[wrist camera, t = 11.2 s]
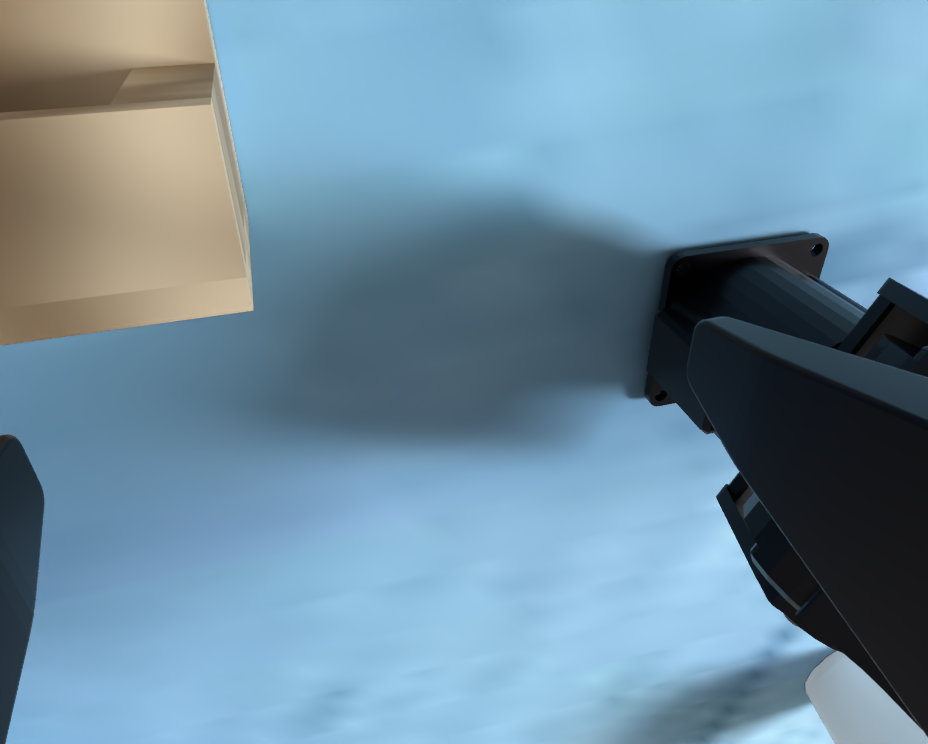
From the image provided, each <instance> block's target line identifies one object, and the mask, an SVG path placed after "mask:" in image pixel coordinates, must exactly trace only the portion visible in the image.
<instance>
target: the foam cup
mask: <svg viewBox="0 0 928 744" xmlns="http://www.w3.org/2000/svg"><path fill="white" fill-rule="evenodd" d="M805 688H806V693H807V695H808V696H809V698H810V699H811V703H812V705H813V706H814V708H815V710H816V712H817V713H818V715H819V717H820V719H821V720H822V722H823V724H824V726H825V727H826V729H827V731H828V733H829V734H830V736H831V738H832V740H833V741H834V743H835V744H928V737H927V736H926V734H925V733H924V732H923V730H922V729H921V728H920V727H919V726H918V725H917V724H916V723H915V722H914V721H913V720H912V719H911V718H910V717H909V716H908V715H907V714H906V713H905V712H904V711H903V710H902V709H901V708H900V707H899V706H898V705H897V704H896V703H895V702H894V701H893V700H892V699H891V697H890V696H889V695H888V694H887V693H886V692H885V691H884V690H883V689H882V688H881V687H880V686H879V685H878V684H877V683H876V682H875V681H874V680H873V679H871V678H870V677H869V676H868V675H867V674H866V673H865V672H864V671H863V670H862V669H861V668H860V667H859V666H857V665H856V664H855V663H854V662H853V661H852V660H850V659H849V658H848V657H847V656H846V655H845V654H843V653H841V652H839V651H836V652H834V653H832V654H831V655H829V656H827V657H826V658H825V659H824V660H823V661H822V662H821V663H820V664H819V665H818V666H817V667H816V668H815V669H813V671H812V672H811V674H810V676H809V677H808V679H807V681H806V682H805Z"/></svg>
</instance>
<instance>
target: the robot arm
mask: <svg viewBox="0 0 928 744" xmlns="http://www.w3.org/2000/svg"><path fill="white" fill-rule="evenodd" d="M814 246H815V247H814ZM813 247H814V249H812V248H813ZM828 247H829V243H828V240H827V239H826V238H824V237H823V236H821V235H819V234H816V233H811V234H804V235H797V236H790V237H782V238H775V239H768V240H761V241H753V242H746V243H739V244H732V245H725V246H717V247H710V248H703V249H696V250H688V251H681V252H678V253H675V254H673V255H672V256H671V257H670V258H669V259H668V261H667V263H666V266H665V271H664V277H663V283H662V289H661V296H660V302H659V308H658V312H657V314H656V316H655V320H654V326H653V333H652V339H651V345H650V351H649V357H648V364H647V371H648V376H647V382H646V388H645V397H646V398H647V400H648V401H649V402H650V403H651V404H652V405H654V406H662V405H667V404H672V403H677V404H678V405H679V407H680V408H681V409H682V410H683V411H684V412H685V413H686V414H687V415H688V416H689V418H690V419H691V420H692V421H693V422H694V423H695V424H696V425H697V426H698V427H699V429H700V430H702V431H703V432H704V433H706V434H710V433H715V434H716V436H717V437H718V438H719V439H720V440H721V442H722V444H723V445H724V447H725V449H726V451H727V453H728V454H729V456H730V458H731V459H732V461H733V463H734V464H735V466H736V467H737V469H738V470H739V473H738V474H737V475H736V476H735V478H734V479H733V480H732V482H731V483H730V484H729V485H728V484H726V485H725V486H724V487H723V488H722V490H721V491H720V492H719V493H718V495H717V496H716V498H717V500H718V502H719V504H720V506H721V508H722V510H723V512H724V514H725V516H726V518H727V520H728V522H729V524H730V527H731V529H732V531H733V533H734V535H735V537H736V539H737V541H738V543H739V545H740V547H741V549H742V551H743V553H744V555H745V557H746V559H747V561H748V563H749V565H750V567H751V569H752V571H753V573H754V575H755V577H756V579H757V580H758V582H759V584H760V586H761V588H762V590H763V592H764V594H765V595H766V597H767V599H768V601H769V602H770V603H771V604H772V605H773V606H774V607H776V608H777V609H778V610H780V611H781V612H783V613H784V615H785V617H786V618H787V619H788V620H789V621H790V622H791V623H792V624H794V625H795V626H798V627H800V628H801V629H803V630H804V631H805V632H807V633H808V634H809V635H811V636H812V637H813V638H815V639H817V640H818V641H820V642H822V643H823V644H825V645H827V646H828V647H830V648H832V649H835V650H837V651H839V652H841V653H843V654H845V655H846V656H847V657H848V658H849V659H850V660H852V661H853V662H854V663H855V664H856V665H857V666H859V667H860V668H861V669H862V670H863V671H864V672H865V673H866V674H867V675H868V676H869V677H870V678H871V679H873V680H874V681H875V682H876V683H877V684H878V685H879V686H880V687H881V688H882V689H883V690H884V691H885V692H886V693H887V694H888V695H889V696H890V697H891V699H892V700H893V701H894V702H895V703H896V704H897V705H898V706H899V707H900V708H901V709H902V710H903V711H904V712H905V713H906V714H907V715H908V716H909V717H910V718H911V719H912V720H913V721H914V722H915V723H916V724H917V725H918V726H919V727H920V728H921V729H922V730H923V732H924V733H925V734H926V736H927V737H928V298H926V297H924V296H923V295H921V294H919V293H917V292H915V291H913V290H911V289H910V288H908V287H906V286H904V285H902V284H900V283H898V282H897V281H895V280H893V279H891V278H888V280H887V281H886V282H885V283H884V285H883V286H882V287H881V288H880V290H879V291H878V292H877V293H878V294H880V295H879V296H878V297H877V299H876V300H875V301H874V303H873V304H872V305H871V306H870V308H869V309H868V310H867V309H866V308H864V307H863V306H861V305H859V304H858V303H856V302H855V301H853V300H851V299H850V298H848V297H847V296H845V295H843V294H842V293H840V292H839V291H837V290H836V289H834V288H832V287H831V286H829V285H828V284H826V283H824V282H823V281H821V280H820V279H819V278H820V274H821V271H822V268H823V264H824V261H825V258H826V254H827V251H828ZM683 263H684V266H683V268H682V269H681V270H679V271H677V269H678V267H679V266H680V265H681V264H683ZM660 391H661V392H660ZM658 392H660V393H659V394H658V395H656V394H657V393H658ZM43 514H44V494H43V490H42V486H41V484H40V482H39V480H38V478H37V475H36V473H35V471H34V469H33V467H32V465H31V463H30V461H29V459H28V457H27V455H26V453H25V450H24V448H23V446H22V444H21V443H20V441H19V440H18V439H17V438H16V437H14V436H12V435H1V436H0V744H5V743H6V738H7V734H8V730H9V725H10V721H11V716H12V712H13V708H14V703H15V699H16V694H17V690H18V685H19V681H20V677H21V672H22V668H23V663H24V659H25V655H26V650H27V646H28V641H29V637H30V632H31V627H32V622H33V617H34V609H35V601H36V591H37V580H38V569H39V558H40V547H41V536H42V525H43Z"/></svg>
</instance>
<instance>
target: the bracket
mask: <svg viewBox="0 0 928 744" xmlns="http://www.w3.org/2000/svg"><path fill="white" fill-rule="evenodd" d="M246 311H253V293H252V275H251V258H250V241H249V224H248V213H247V208H246V203H245V197H244V192H243V187H242V182H241V177H240V172H239V167H238V162H237V157H236V152H235V146H234V141H233V136H232V131H231V126H230V121H229V116H228V111H227V106H226V101H225V95H224V90H223V85H222V80H221V75H220V70H219V65H218V60H217V55H216V50H215V44H214V39H213V34H212V29H211V24H210V19H209V14H208V9H207V4H206V0H0V345H8V344H15V343H22V342H29V341H36V340H44V339H51V338H58V337H65V336H73V335H80V334H87V333H94V332H102V331H109V330H116V329H123V328H130V327H138V326H145V325H152V324H159V323H167V322H174V321H181V320H188V319H195V318H203V317H210V316H217V315H224V314H232V313H239V312H246Z"/></svg>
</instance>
